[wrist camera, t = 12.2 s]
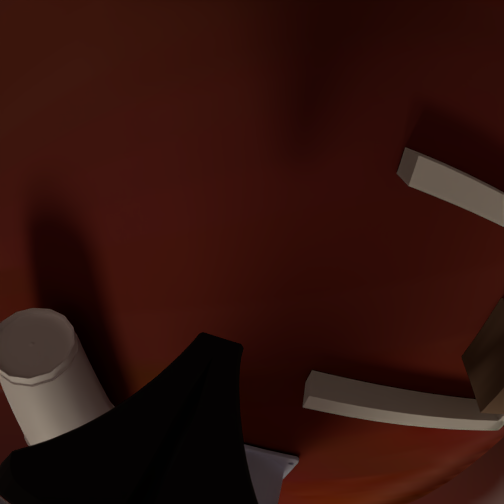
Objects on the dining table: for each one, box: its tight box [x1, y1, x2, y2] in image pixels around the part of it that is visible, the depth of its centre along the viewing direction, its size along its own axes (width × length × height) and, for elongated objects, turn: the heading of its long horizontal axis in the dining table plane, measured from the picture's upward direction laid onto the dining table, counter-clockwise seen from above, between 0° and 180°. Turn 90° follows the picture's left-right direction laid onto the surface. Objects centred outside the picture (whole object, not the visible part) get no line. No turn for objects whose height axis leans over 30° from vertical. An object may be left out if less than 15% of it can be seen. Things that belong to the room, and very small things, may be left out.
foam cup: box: [0, 308, 115, 446], centre depth 19 cm, size 10×9×13 cm
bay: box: [303, 147, 504, 430], centre depth 14 cm, size 14×16×2 cm
